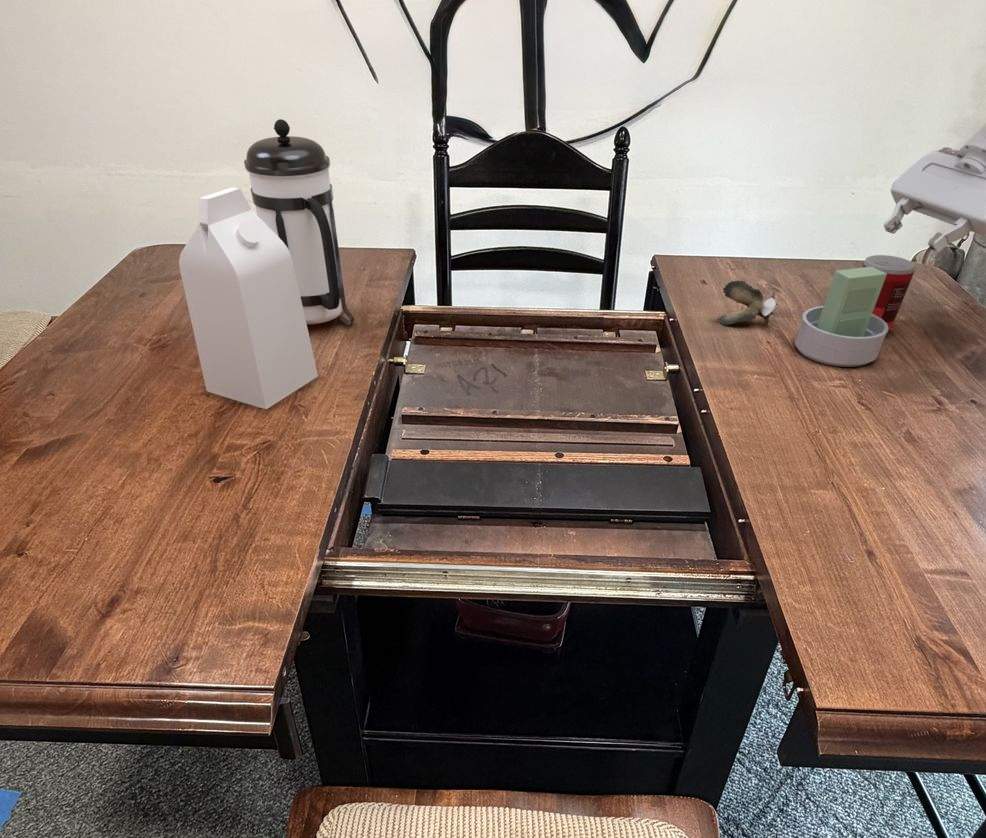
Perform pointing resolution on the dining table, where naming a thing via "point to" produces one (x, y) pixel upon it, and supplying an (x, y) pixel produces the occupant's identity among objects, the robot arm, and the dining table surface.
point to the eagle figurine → (747, 303)
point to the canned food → (891, 284)
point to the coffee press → (301, 216)
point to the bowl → (839, 341)
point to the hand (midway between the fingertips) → (909, 238)
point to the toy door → (851, 301)
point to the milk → (244, 304)
